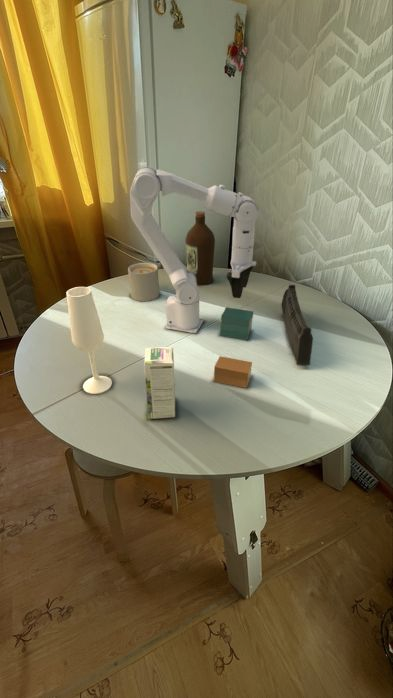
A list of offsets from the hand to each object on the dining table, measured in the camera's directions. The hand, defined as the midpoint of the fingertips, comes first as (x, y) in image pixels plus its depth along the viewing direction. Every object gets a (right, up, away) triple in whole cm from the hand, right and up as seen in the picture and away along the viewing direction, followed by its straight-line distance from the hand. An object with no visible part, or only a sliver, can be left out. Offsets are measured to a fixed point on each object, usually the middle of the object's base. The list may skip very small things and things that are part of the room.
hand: (239, 291), depth 102 cm
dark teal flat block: (-1, -8, -2) cm, 9 cm away
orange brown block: (-4, -22, -18) cm, 29 cm away
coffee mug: (-31, +3, +24) cm, 39 cm away
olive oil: (-11, +10, +33) cm, 37 cm away
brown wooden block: (-4, -24, -17) cm, 29 cm away
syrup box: (-20, -30, -25) cm, 44 cm away
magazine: (+15, -13, -1) cm, 20 cm away
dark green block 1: (-1, -10, 0) cm, 10 cm away
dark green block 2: (-1, -12, +1) cm, 12 cm away
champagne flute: (-36, -25, -18) cm, 48 cm away
